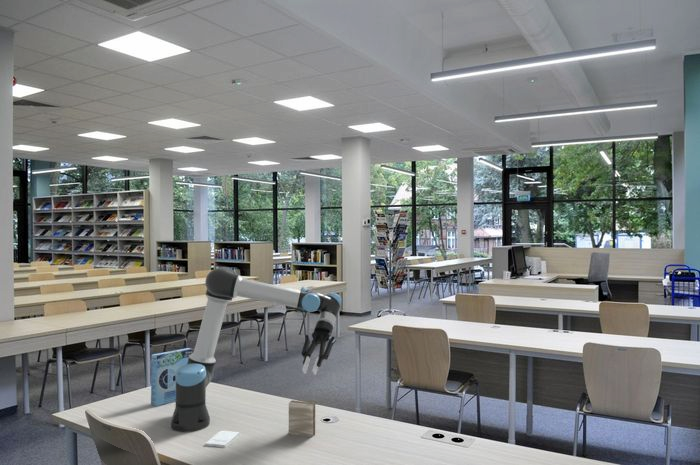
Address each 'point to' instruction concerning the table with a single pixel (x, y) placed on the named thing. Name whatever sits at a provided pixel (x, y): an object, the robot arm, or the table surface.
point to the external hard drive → (222, 439)
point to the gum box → (166, 375)
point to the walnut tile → (302, 418)
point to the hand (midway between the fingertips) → (308, 372)
